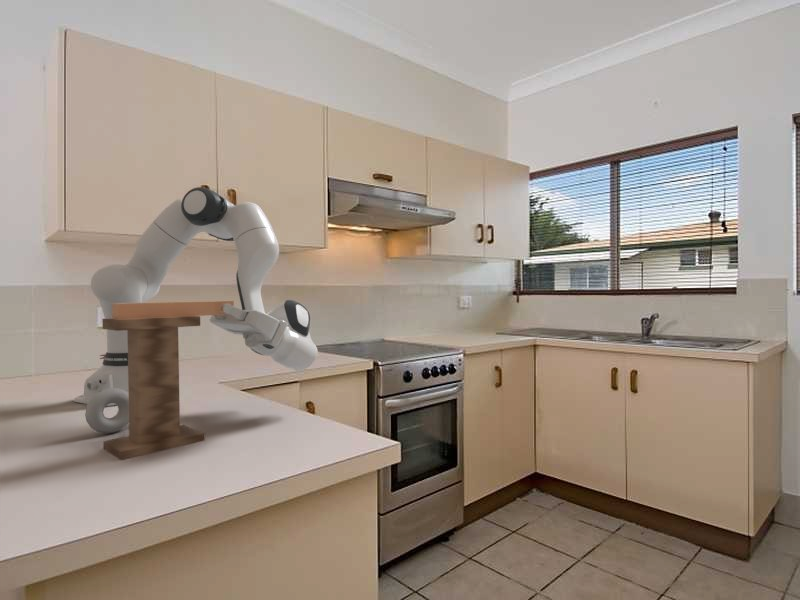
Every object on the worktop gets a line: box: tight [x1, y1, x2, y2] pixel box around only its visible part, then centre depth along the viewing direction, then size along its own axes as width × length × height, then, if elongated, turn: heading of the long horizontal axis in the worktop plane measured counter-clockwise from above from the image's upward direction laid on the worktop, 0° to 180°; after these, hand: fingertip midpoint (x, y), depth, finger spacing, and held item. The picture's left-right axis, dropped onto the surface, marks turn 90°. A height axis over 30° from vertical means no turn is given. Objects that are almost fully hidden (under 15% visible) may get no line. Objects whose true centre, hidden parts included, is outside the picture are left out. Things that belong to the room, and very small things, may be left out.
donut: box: [84, 388, 129, 435], centre depth 110 cm, size 10×4×10 cm, turn 141°
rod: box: [112, 300, 235, 319], centre depth 104 cm, size 24×3×3 cm, turn 137°
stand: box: [101, 316, 205, 461], centre depth 101 cm, size 16×10×26 cm, turn 137°
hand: (214, 306), depth 110 cm, fingers open, 6 cm apart
